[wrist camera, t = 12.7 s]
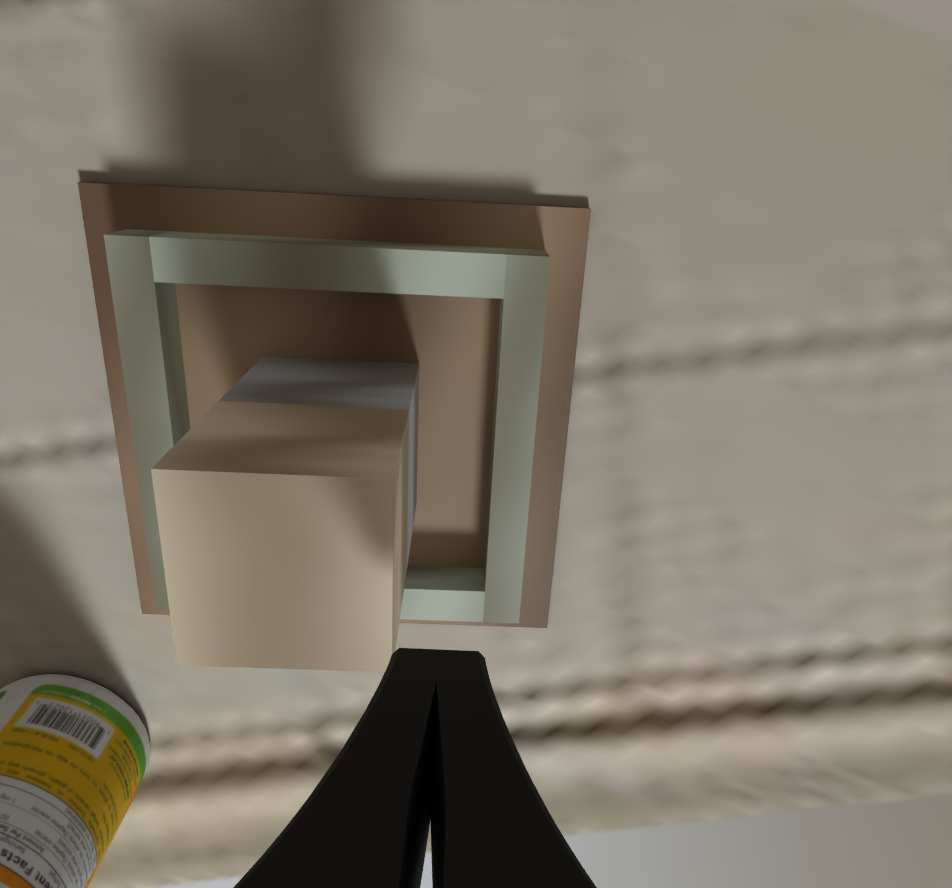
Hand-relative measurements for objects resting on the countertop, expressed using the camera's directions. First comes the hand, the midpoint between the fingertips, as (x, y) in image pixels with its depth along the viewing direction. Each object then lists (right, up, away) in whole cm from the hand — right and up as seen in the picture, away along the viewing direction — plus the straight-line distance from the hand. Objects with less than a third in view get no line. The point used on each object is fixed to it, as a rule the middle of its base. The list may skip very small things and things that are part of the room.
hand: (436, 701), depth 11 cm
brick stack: (-3, +4, +8) cm, 10 cm away
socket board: (-3, +4, +8) cm, 10 cm away
